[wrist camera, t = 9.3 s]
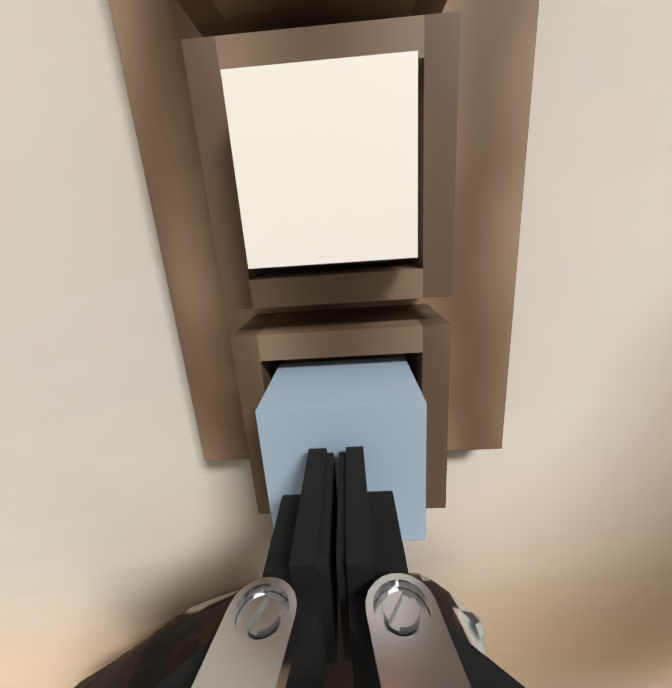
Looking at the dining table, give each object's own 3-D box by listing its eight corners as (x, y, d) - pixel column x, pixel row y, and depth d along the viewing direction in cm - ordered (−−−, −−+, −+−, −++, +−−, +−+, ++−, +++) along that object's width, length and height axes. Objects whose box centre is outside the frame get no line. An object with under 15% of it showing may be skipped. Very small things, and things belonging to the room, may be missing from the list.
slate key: (404, 356, 14) (426, 403, 10) (405, 463, 15) (425, 539, 11) (279, 363, 14) (255, 410, 10) (293, 468, 15) (275, 544, 12)
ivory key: (396, 107, 12) (418, 50, 9) (398, 251, 14) (417, 257, 10) (258, 120, 13) (220, 69, 9) (274, 260, 14) (248, 268, 10)
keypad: (529, -204, 13) (683, -574, 7) (486, 428, 20) (542, 504, 14) (103, -149, 13) (-79, -440, 8) (217, 440, 21) (169, 516, 15)
